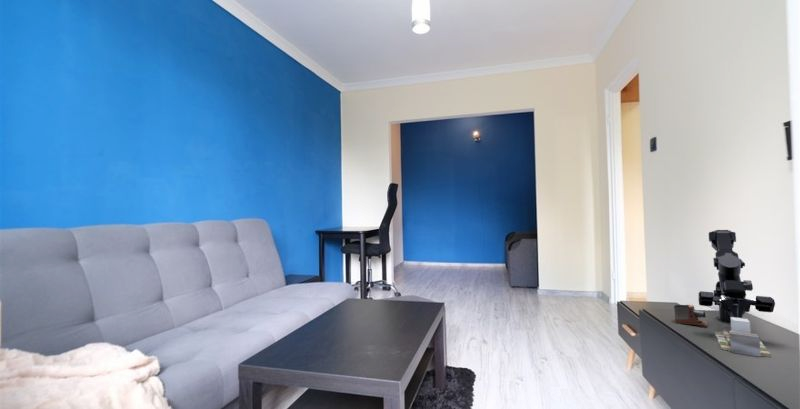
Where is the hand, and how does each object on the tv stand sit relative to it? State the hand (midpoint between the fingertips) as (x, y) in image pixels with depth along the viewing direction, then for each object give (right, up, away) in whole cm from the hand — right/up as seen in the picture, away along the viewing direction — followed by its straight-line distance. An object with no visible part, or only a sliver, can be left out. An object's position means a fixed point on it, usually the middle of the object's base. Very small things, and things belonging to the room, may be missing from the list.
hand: (738, 323), depth 112 cm
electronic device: (+2, -8, +21) cm, 22 cm away
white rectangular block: (-3, -6, -1) cm, 7 cm away
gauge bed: (0, -7, -1) cm, 7 cm away
